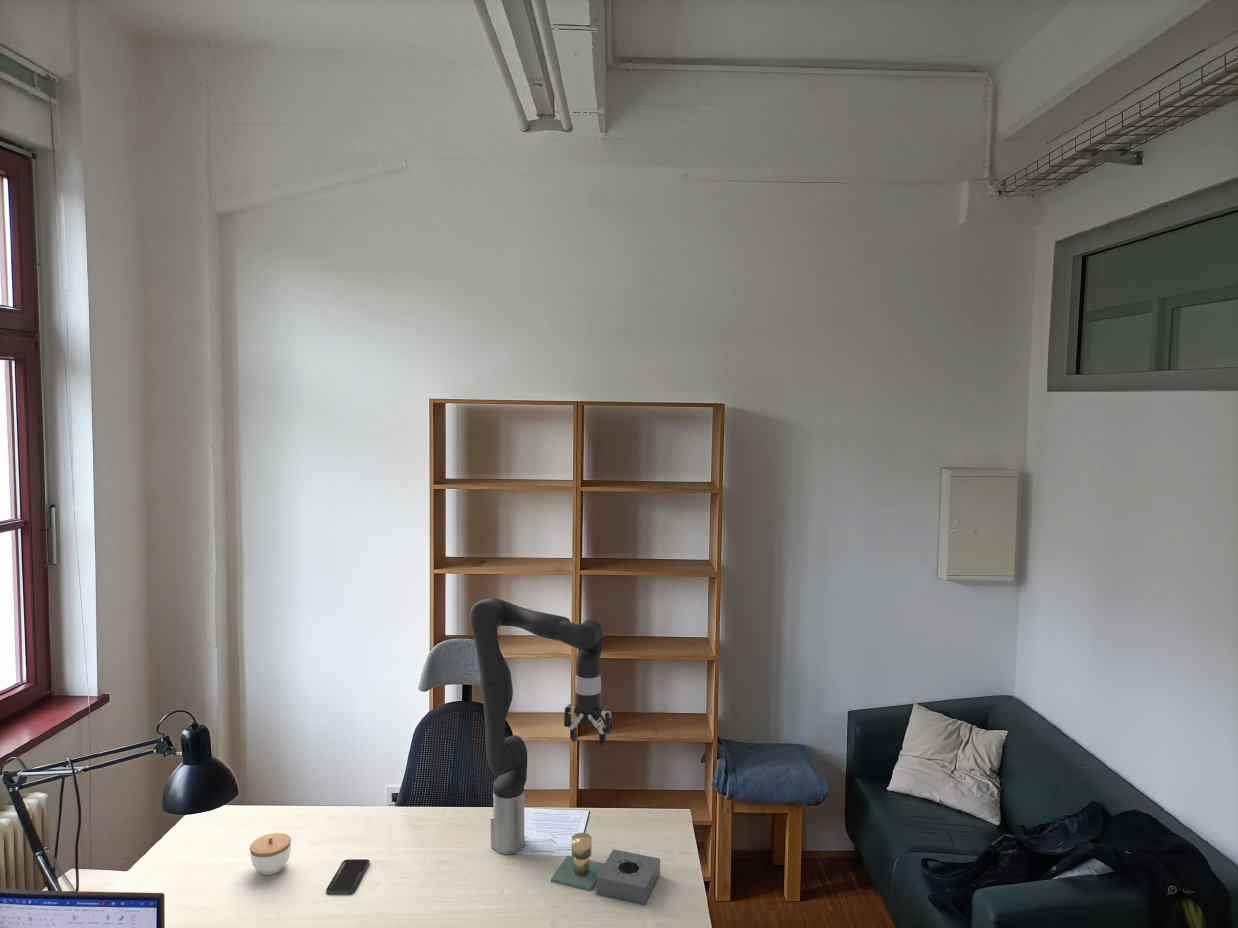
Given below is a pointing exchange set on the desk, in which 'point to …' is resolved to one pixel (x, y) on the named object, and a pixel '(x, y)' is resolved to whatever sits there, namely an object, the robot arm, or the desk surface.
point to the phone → (348, 876)
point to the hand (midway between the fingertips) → (588, 742)
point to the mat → (570, 879)
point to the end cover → (581, 853)
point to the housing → (628, 877)
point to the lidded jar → (270, 852)
